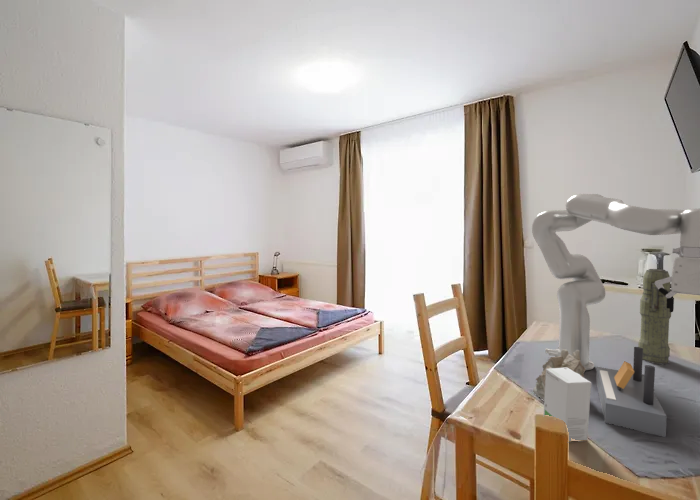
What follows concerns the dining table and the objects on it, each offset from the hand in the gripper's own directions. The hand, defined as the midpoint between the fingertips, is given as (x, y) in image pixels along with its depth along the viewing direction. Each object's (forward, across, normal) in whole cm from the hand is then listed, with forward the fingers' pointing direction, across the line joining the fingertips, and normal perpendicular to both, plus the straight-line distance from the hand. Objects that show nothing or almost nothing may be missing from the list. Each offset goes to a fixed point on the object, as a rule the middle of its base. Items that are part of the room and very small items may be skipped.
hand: (695, 314), depth 92 cm
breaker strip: (+28, -13, -11) cm, 32 cm away
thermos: (+28, -10, +37) cm, 48 cm away
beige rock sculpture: (+28, -30, -15) cm, 43 cm away
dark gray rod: (+22, -8, -17) cm, 29 cm away
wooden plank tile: (+22, -15, -11) cm, 28 cm away
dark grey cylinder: (+22, -11, -2) cm, 25 cm away
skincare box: (+28, -22, -37) cm, 51 cm away
